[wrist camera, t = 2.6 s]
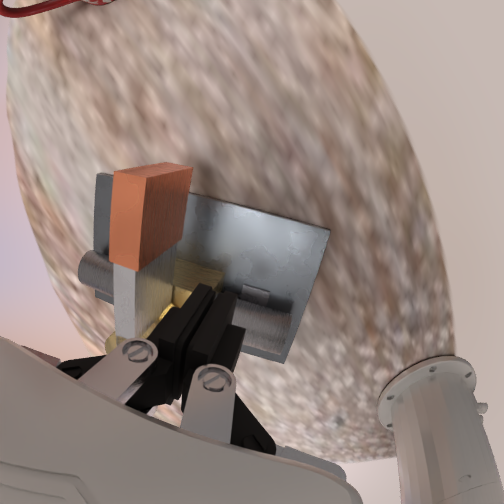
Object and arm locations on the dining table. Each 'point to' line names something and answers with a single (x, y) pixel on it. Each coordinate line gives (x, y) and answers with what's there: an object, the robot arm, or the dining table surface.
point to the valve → (229, 265)
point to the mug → (42, 7)
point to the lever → (145, 245)
